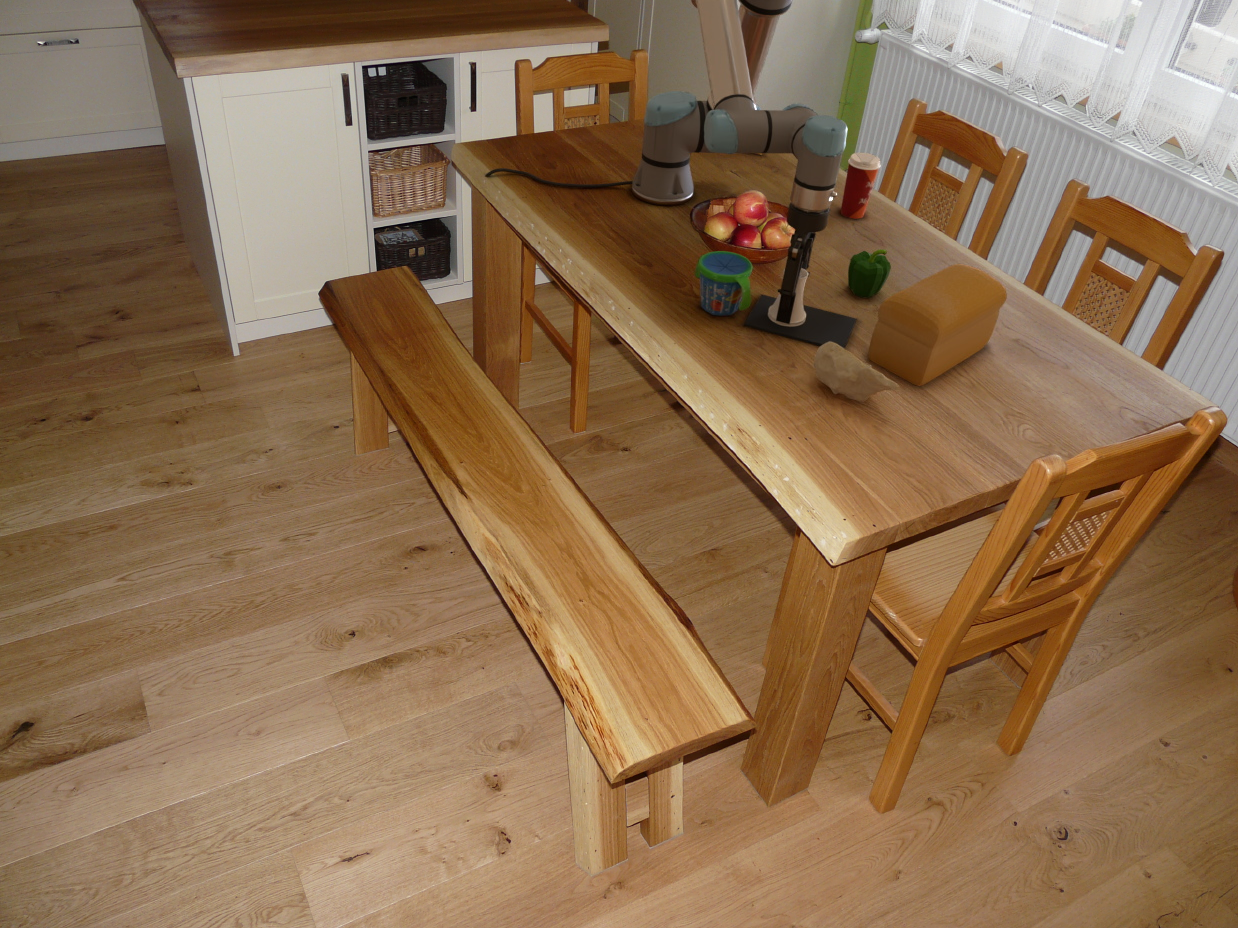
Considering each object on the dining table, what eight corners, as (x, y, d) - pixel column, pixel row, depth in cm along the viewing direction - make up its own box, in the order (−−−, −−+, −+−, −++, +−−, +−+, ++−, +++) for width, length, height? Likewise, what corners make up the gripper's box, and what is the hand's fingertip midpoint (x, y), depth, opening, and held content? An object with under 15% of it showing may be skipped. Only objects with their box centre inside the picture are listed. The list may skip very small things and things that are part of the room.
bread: (920, 389, 171) (943, 318, 161) (863, 357, 178) (883, 288, 168) (989, 345, 184) (1015, 278, 175) (934, 317, 191) (956, 251, 182)
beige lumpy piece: (800, 375, 175) (803, 366, 161) (823, 343, 175) (828, 331, 160) (868, 422, 173) (877, 417, 159) (892, 389, 173) (903, 382, 158)
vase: (812, 318, 187) (822, 273, 180) (791, 331, 182) (800, 286, 176) (782, 303, 191) (791, 259, 184) (760, 315, 186) (768, 271, 180)
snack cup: (677, 294, 192) (683, 249, 185) (721, 285, 196) (728, 241, 189) (715, 332, 181) (722, 286, 175) (761, 322, 185) (769, 277, 179)
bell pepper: (840, 296, 195) (850, 253, 189) (846, 279, 201) (857, 237, 195) (879, 306, 194) (892, 262, 187) (885, 288, 200) (897, 245, 193)
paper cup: (867, 222, 224) (882, 166, 215) (835, 218, 225) (848, 161, 216) (867, 209, 230) (881, 154, 221) (836, 204, 231) (849, 149, 222)
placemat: (743, 326, 184) (743, 323, 184) (761, 296, 193) (761, 294, 193) (842, 352, 179) (843, 349, 178) (856, 321, 188) (856, 318, 188)
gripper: (818, 230, 163) (793, 341, 178) (841, 190, 177) (816, 296, 192) (777, 220, 165) (756, 331, 180) (802, 181, 179) (781, 287, 194)
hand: (787, 313), depth 186 cm, fingers closed on vase, 6 cm apart
